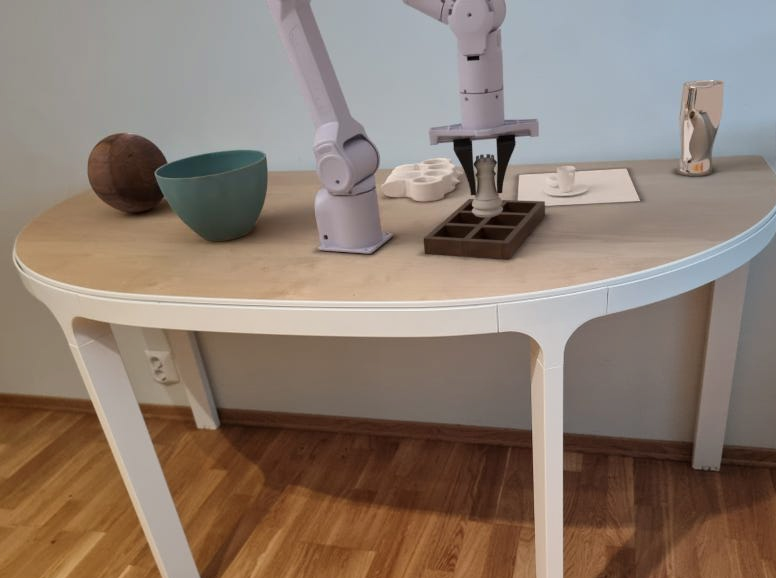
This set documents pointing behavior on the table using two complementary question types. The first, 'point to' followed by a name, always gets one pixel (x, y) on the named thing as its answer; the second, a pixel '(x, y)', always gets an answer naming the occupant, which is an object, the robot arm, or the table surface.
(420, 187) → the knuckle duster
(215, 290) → the table surface
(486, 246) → the rack
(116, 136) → the wooden sphere
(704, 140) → the beer glass
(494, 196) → the rook chess piece
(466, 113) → the robot arm
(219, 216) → the plant pot
